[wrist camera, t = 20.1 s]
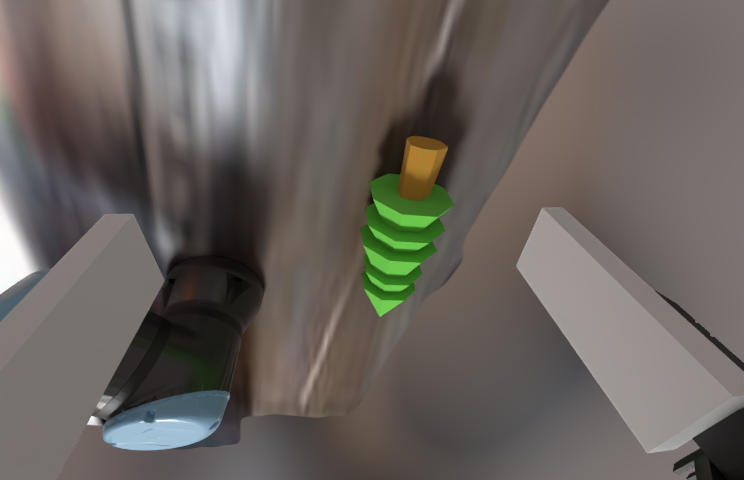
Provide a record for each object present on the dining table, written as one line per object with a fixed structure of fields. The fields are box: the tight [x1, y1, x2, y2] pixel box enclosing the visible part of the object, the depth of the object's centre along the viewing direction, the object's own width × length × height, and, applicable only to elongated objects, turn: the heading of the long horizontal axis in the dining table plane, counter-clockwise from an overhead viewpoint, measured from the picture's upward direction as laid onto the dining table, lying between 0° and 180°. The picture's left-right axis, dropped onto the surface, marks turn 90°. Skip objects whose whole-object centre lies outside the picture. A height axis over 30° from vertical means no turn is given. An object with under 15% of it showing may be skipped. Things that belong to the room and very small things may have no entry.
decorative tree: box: [361, 136, 454, 316], centre depth 46 cm, size 11×12×30 cm
